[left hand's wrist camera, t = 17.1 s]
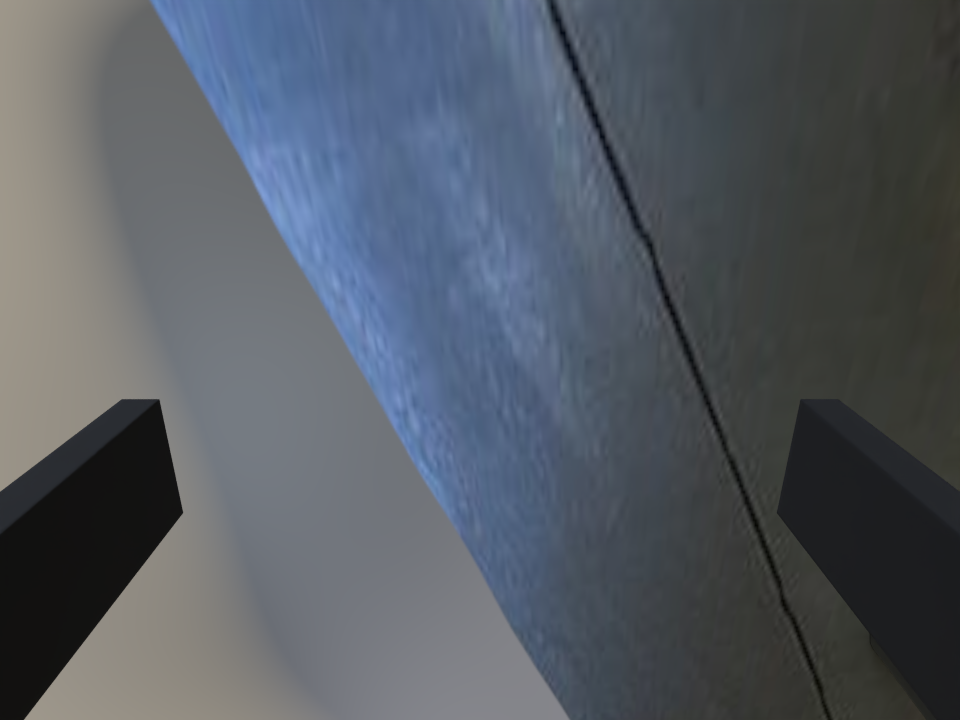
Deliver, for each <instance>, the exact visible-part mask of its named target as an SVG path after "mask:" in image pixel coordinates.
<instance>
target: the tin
mask: <svg viewBox="0 0 960 720" xmlns="http://www.w3.org/2000/svg"><path fill="white" fill-rule="evenodd" d="M870 643H871V646H872V648H873V650H874V651H875V652H876V653H877V655H878V656H879V657H880V659H881V660H882V661H883V663H884V664H885V665H886V667H887V668H888V669H889V671H890V672H891V673H892V675H893V676H894V677H895V679H896V680H897V681H898V683H899V684H900V685H901V687H902V688H903V689H904V691H905V692H906V693H907V695H908V696H909V697H910V699H911V700H912V701H913V703H914V704H915V705H916V707H917V708H918V709H919V711H920V712H921V713H922V715H923V716H924V717H925V719H926V720H936V719H935V718H934V716H933V715H932V714H931V712H930V711H929V710H928V708H927V707H926V706H925V705H924V703H923V702H922V701H921V699H920V698H919V697H918V695H917V694H916V693H915V692H914V690H913V689H912V688H911V686H910V685H909V684H908V683H907V681H906V680H905V679H904V677H903V676H902V675H901V673H900V672H899V671H898V670H897V668H896V667H895V666H894V664H893V663H892V662H891V660H890V659H889V658H888V657H887V655H886V654H885V653H884V651H883V650H882V649H881V647H880V646H879V645H878V644H877V642H876V641H875V640H874V638H873V637H872V636H871V635H870Z"/></svg>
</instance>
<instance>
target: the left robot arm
mask: <svg viewBox="0 0 960 720" xmlns="http://www.w3.org/2000/svg"><path fill="white" fill-rule="evenodd" d="M182 514H183V510H182V505H181V500H180V496H179V491H178V486H177V481H176V477H175V472H174V467H173V462H172V458H171V453H170V448H169V443H168V439H167V434H166V429H165V424H164V420H163V415H162V410H161V405H160V400H159V399H122V400H120V401H119V402H118V403H117V404H115V405H114V406H112V407H111V408H110V409H109V410H107V411H106V412H105V413H103V414H102V415H101V416H99V417H98V418H97V419H95V420H94V421H93V422H91V423H90V424H89V425H87V426H86V427H85V428H84V429H82V430H81V431H80V432H78V433H77V434H76V435H74V436H73V437H72V438H70V439H69V440H68V441H66V442H65V443H64V444H63V445H61V446H60V447H59V448H57V449H56V450H55V451H53V452H52V453H51V454H49V455H48V456H47V457H45V458H44V459H43V460H41V461H40V462H39V463H38V464H36V465H35V466H34V467H32V468H31V469H30V470H28V471H27V472H26V473H24V474H23V475H22V476H20V477H19V478H18V479H17V480H15V481H14V482H12V483H11V484H10V485H9V486H7V487H6V488H5V489H3V490H2V491H1V492H0V720H24V719H25V717H26V716H27V715H28V714H29V712H30V711H31V710H32V708H33V707H34V706H35V705H36V703H37V702H38V701H39V699H40V698H41V697H42V695H43V694H44V693H45V692H46V690H47V689H48V688H49V686H50V685H51V684H52V682H53V681H54V680H55V679H56V677H57V676H58V675H59V673H60V672H61V671H62V670H63V668H64V667H65V666H66V664H67V663H68V662H69V660H70V659H71V658H72V657H73V655H74V654H75V653H76V651H77V650H78V649H79V647H80V646H81V645H82V644H83V642H84V641H85V640H86V638H87V637H88V636H89V634H90V633H91V632H92V631H93V629H94V628H95V627H96V625H97V624H98V623H99V621H100V620H101V619H102V618H103V616H104V615H105V614H106V612H107V611H108V610H109V608H110V607H111V606H112V604H113V603H114V602H115V601H116V599H117V598H118V597H119V595H120V594H121V593H122V592H123V590H124V589H125V588H126V586H127V585H128V584H129V582H130V581H131V580H132V579H133V577H134V576H135V575H136V573H137V572H138V571H139V569H140V568H141V567H142V566H143V564H144V563H145V562H146V560H147V559H148V558H149V556H150V555H151V554H152V553H153V551H154V550H155V549H156V547H157V546H158V545H159V543H160V542H161V541H162V540H163V538H164V537H165V536H166V534H167V533H168V532H169V530H170V529H171V528H172V527H173V525H174V524H175V523H176V521H177V520H178V519H179V518H180V516H181V515H182ZM777 514H778V515H779V516H780V518H781V519H782V520H783V521H784V523H785V524H786V525H787V527H788V528H789V529H790V531H791V532H792V533H793V534H794V536H795V537H796V538H797V540H798V541H799V542H800V544H801V545H802V546H803V547H804V549H805V550H806V551H807V553H808V554H809V555H810V556H811V558H812V559H813V560H814V562H815V563H816V564H817V566H818V567H819V568H820V569H821V571H822V572H823V573H824V575H825V576H826V577H827V579H828V580H829V581H830V582H831V584H832V585H833V586H834V588H835V589H836V590H837V592H838V593H839V594H840V595H841V597H842V598H843V599H844V601H845V602H846V603H847V605H848V606H849V607H850V608H851V610H852V611H853V612H854V614H855V615H856V616H857V618H858V619H859V620H860V621H861V623H862V624H863V625H864V627H865V628H866V629H867V631H868V632H869V633H870V634H871V636H872V637H873V638H874V640H875V641H876V642H877V644H878V645H879V646H880V647H881V649H882V650H883V651H884V653H885V654H886V655H887V657H888V658H889V659H890V660H891V662H892V663H893V664H894V666H895V667H896V668H897V670H898V671H899V672H900V673H901V675H902V676H903V677H904V679H905V680H906V681H907V683H908V684H909V685H910V686H911V688H912V689H913V690H914V692H915V693H916V694H917V695H918V697H919V698H920V699H921V701H922V702H923V703H924V705H925V706H926V707H927V708H928V710H929V711H930V712H931V714H932V715H933V716H934V718H935V719H936V720H960V492H959V491H958V490H957V489H955V488H954V487H953V486H951V485H950V484H949V483H948V482H946V481H945V480H944V479H942V478H941V477H940V476H938V475H937V474H936V473H934V472H933V471H932V470H930V469H929V468H928V467H926V466H925V465H924V464H923V463H921V462H920V461H919V460H917V459H916V458H915V457H913V456H912V455H911V454H909V453H908V452H907V451H905V450H904V449H903V448H901V447H900V446H899V445H898V444H896V443H895V442H894V441H892V440H891V439H890V438H888V437H887V436H886V435H884V434H883V433H882V432H880V431H879V430H878V429H876V428H875V427H874V426H873V425H871V424H870V423H869V422H867V421H866V420H865V419H863V418H862V417H861V416H859V415H858V414H857V413H855V412H854V411H853V410H851V409H850V408H849V407H848V406H846V405H845V404H844V403H842V402H841V401H840V400H838V399H801V400H800V405H799V410H798V415H797V419H796V424H795V429H794V434H793V439H792V443H791V448H790V453H789V458H788V462H787V467H786V472H785V477H784V481H783V486H782V491H781V496H780V500H779V505H778V510H777Z"/></svg>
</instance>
